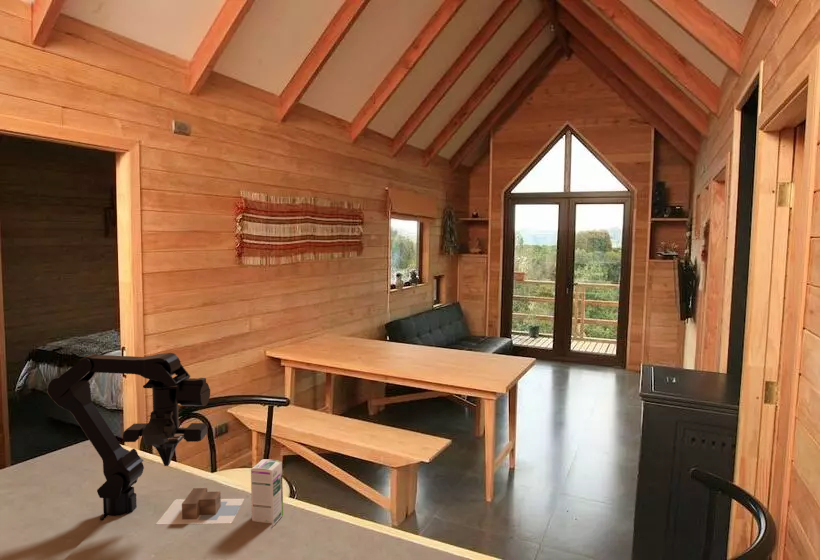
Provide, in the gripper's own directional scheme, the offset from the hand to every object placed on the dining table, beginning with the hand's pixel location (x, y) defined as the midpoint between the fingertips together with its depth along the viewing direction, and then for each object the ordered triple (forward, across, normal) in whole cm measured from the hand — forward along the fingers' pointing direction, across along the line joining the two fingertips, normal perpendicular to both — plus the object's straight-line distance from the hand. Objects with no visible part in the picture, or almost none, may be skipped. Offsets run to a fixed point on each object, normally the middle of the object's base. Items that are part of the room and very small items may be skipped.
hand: (167, 465), depth 131 cm
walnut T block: (+12, +9, 0) cm, 15 cm away
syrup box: (+13, +26, -3) cm, 29 cm away
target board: (+13, +8, 0) cm, 16 cm away
